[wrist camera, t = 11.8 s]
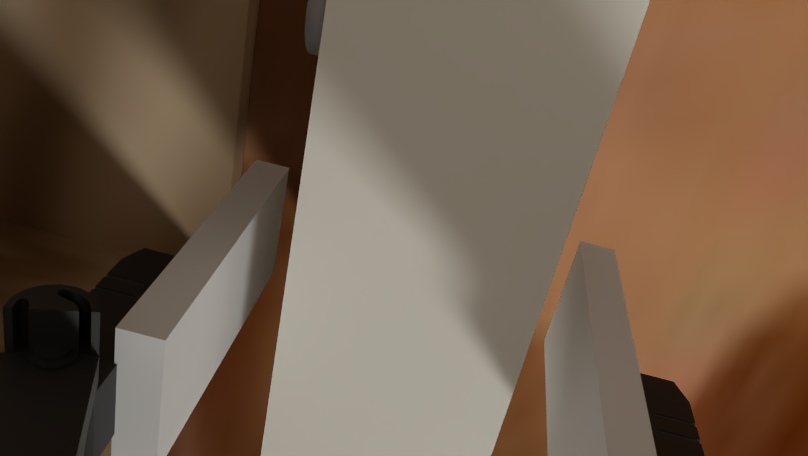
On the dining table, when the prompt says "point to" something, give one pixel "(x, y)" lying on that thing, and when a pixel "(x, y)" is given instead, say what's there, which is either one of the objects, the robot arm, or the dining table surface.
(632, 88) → the dining table surface
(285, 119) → the dining table surface
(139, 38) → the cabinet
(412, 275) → the grey rectangular block
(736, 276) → the dining table surface
